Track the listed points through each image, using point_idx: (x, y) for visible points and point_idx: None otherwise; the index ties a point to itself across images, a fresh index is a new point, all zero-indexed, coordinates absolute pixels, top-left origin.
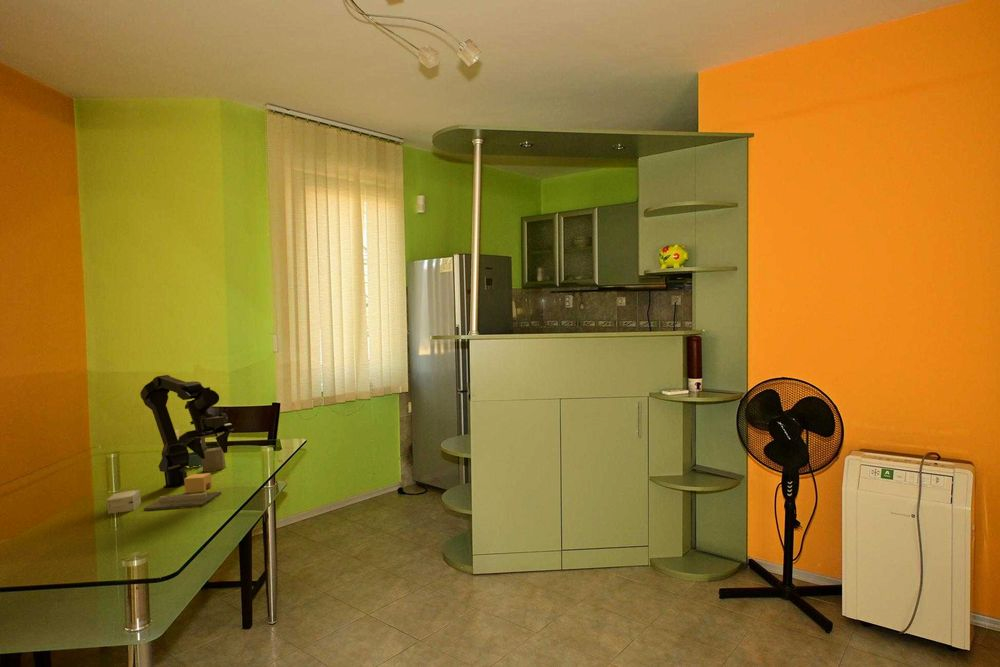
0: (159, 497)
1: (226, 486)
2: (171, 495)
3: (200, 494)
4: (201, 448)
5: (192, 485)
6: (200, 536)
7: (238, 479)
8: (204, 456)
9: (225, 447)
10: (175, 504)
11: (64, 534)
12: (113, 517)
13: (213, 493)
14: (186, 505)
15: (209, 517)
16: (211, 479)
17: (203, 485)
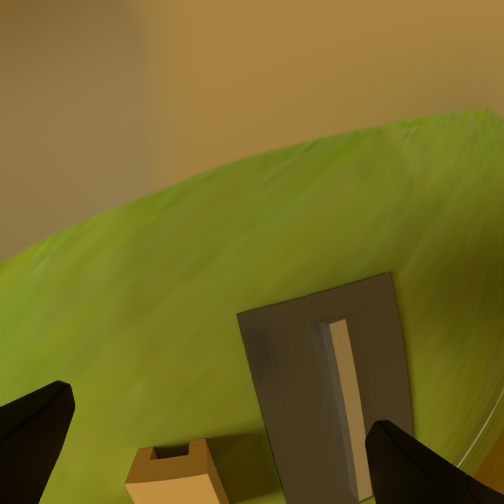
0: (371, 493)
1: (126, 376)
2: (355, 472)
3: (348, 341)
4: (451, 484)
5: (223, 498)
6: (491, 122)
7: (34, 381)
8: (386, 428)
9: (37, 411)
10: (395, 396)
11: (498, 473)
12: None
13: (267, 336)
14: (402, 337)
15: (443, 164)
16: (132, 465)
17: (207, 453)
